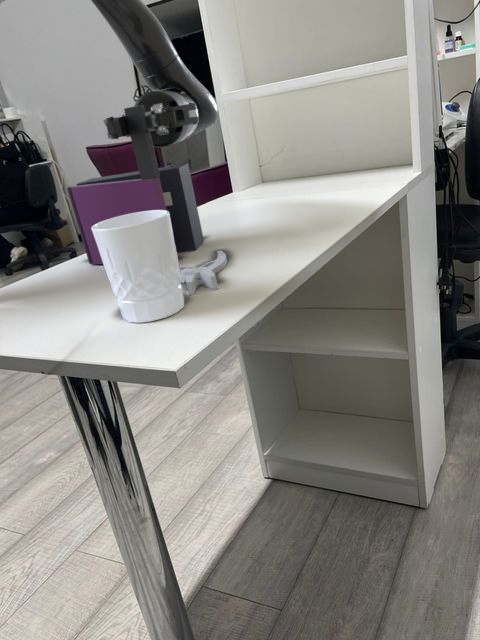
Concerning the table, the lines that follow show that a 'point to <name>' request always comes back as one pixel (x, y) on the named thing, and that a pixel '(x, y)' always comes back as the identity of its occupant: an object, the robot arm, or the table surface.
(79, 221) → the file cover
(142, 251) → the white cup
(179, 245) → the file box
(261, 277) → the table surface
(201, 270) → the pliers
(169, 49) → the robot arm
